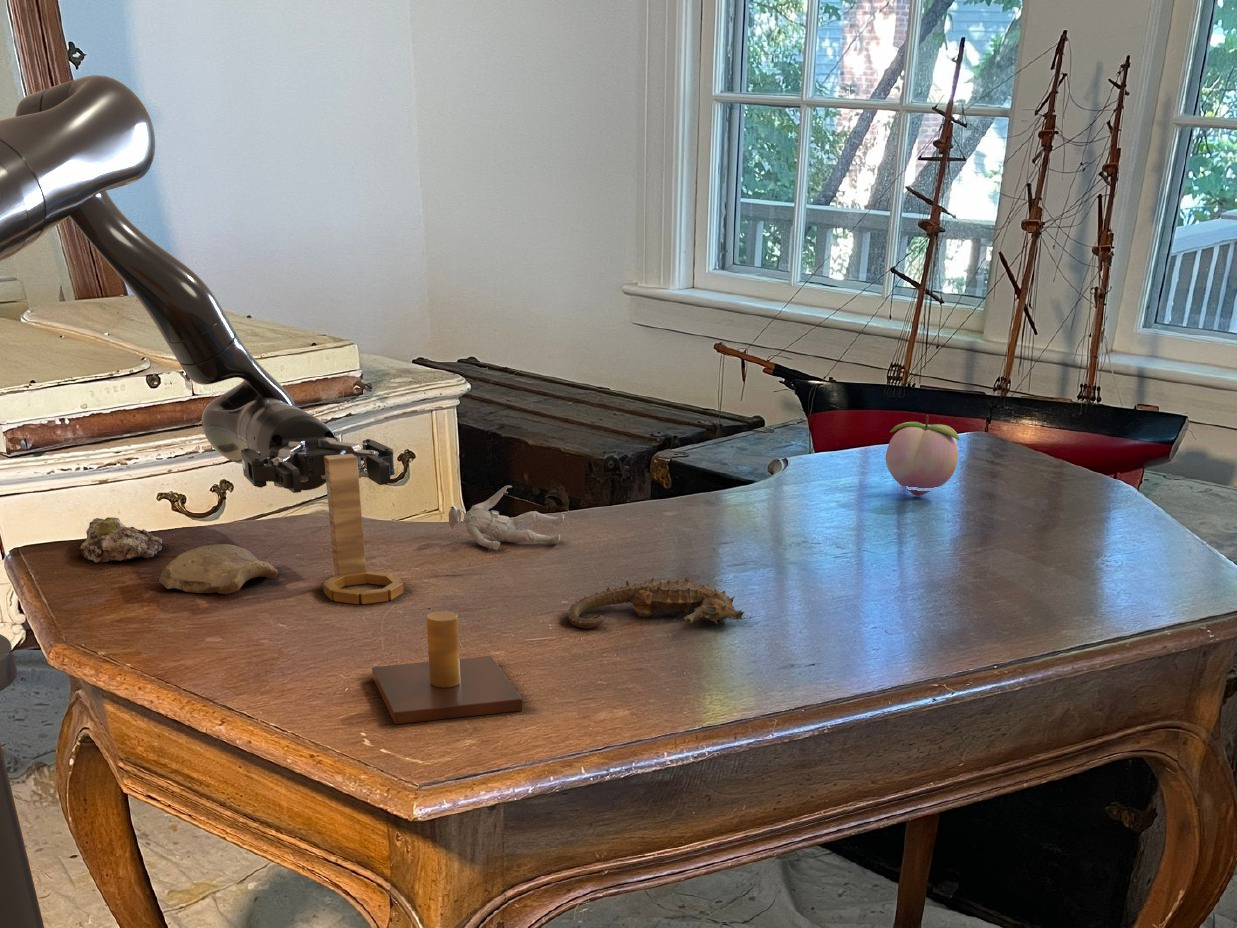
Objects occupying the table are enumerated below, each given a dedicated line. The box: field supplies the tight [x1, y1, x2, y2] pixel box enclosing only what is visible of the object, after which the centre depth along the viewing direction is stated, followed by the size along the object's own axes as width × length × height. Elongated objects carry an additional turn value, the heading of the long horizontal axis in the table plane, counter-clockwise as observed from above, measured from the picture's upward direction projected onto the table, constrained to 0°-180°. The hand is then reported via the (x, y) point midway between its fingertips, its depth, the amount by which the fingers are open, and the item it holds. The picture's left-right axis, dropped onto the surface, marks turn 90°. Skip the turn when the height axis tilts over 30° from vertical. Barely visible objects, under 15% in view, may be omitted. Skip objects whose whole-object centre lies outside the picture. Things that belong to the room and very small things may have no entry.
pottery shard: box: [158, 543, 279, 595], centre depth 126 cm, size 11×4×10 cm
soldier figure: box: [448, 485, 565, 551], centre depth 142 cm, size 8×5×12 cm
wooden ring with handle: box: [322, 454, 405, 605], centre depth 123 cm, size 9×7×12 cm
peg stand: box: [371, 610, 523, 725], centre depth 102 cm, size 10×10×6 cm
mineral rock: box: [78, 516, 163, 564], centre depth 134 cm, size 11×4×8 cm
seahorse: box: [567, 576, 745, 629], centre depth 121 cm, size 9×16×3 cm, turn 86°
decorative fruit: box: [885, 414, 961, 497], centre depth 165 cm, size 9×8×10 cm
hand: (341, 478), depth 124 cm, fingers open, 8 cm apart
